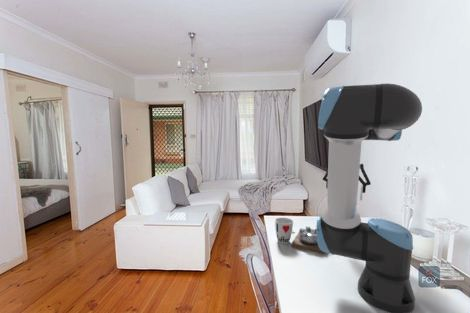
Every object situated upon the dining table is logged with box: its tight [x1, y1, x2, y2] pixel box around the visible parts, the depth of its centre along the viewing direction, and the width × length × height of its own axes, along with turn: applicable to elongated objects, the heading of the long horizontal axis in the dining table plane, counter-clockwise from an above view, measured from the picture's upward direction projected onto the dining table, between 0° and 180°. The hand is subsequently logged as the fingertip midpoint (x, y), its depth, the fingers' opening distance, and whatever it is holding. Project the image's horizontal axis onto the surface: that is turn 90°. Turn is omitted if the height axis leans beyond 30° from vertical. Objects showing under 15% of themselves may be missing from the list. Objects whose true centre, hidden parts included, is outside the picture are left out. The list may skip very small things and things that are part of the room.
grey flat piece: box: [298, 226, 318, 246], centre depth 112 cm, size 20×11×4 cm, turn 122°
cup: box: [274, 217, 294, 245], centre depth 112 cm, size 8×8×10 cm
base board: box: [291, 232, 326, 256], centre depth 110 cm, size 14×14×2 cm
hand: (344, 197), depth 113 cm, fingers open, 13 cm apart
